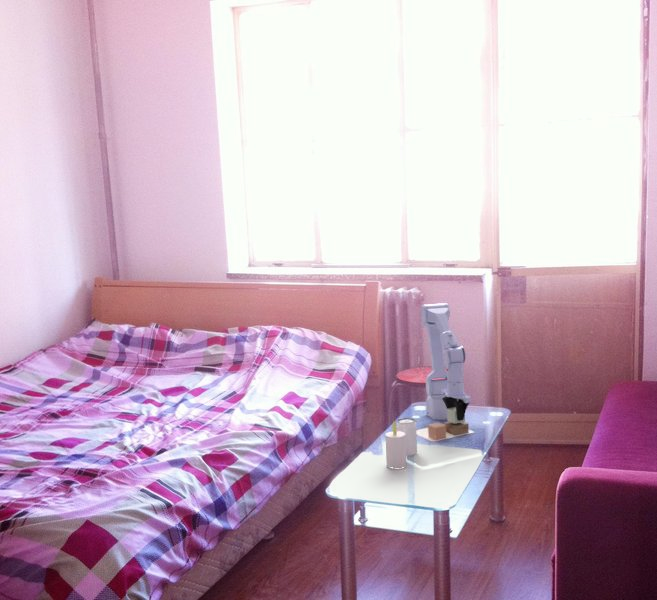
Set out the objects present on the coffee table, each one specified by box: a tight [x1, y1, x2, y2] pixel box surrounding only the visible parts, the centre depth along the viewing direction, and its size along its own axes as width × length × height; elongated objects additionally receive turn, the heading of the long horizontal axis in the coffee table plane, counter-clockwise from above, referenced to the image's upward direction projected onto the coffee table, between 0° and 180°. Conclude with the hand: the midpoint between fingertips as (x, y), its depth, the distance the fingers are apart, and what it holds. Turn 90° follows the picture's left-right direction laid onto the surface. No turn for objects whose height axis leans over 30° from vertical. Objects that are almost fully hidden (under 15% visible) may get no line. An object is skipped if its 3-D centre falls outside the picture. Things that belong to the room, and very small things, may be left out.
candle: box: [384, 420, 407, 468], centre depth 244 cm, size 6×6×15 cm
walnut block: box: [444, 421, 470, 435], centre depth 273 cm, size 6×6×3 cm
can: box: [396, 417, 418, 457], centre depth 253 cm, size 6×6×12 cm
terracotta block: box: [427, 422, 446, 441], centre depth 268 cm, size 4×4×4 cm
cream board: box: [416, 423, 475, 443], centre depth 274 cm, size 14×18×1 cm
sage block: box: [446, 407, 466, 424], centre depth 272 cm, size 4×4×4 cm
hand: (456, 418), depth 272 cm, fingers closed on sage block, 4 cm apart
